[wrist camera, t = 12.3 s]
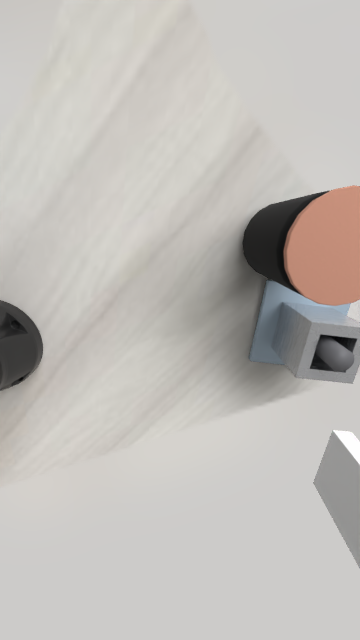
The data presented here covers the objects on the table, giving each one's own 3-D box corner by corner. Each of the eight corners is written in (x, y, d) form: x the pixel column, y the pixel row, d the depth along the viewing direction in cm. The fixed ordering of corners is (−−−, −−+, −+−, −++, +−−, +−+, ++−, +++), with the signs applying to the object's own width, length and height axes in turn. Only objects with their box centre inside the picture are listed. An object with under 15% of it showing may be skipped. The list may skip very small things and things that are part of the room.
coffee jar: (306, 274, 44) (390, 304, 27) (239, 276, 44) (280, 308, 27) (315, 202, 40) (417, 183, 23) (242, 204, 40) (292, 186, 23)
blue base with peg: (248, 358, 48) (274, 403, 36) (266, 279, 44) (302, 299, 32) (325, 366, 49) (376, 413, 37) (350, 290, 45) (417, 314, 32)
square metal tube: (271, 347, 46) (295, 377, 37) (282, 301, 44) (312, 321, 35) (316, 352, 47) (352, 383, 37) (330, 307, 44) (372, 329, 35)
